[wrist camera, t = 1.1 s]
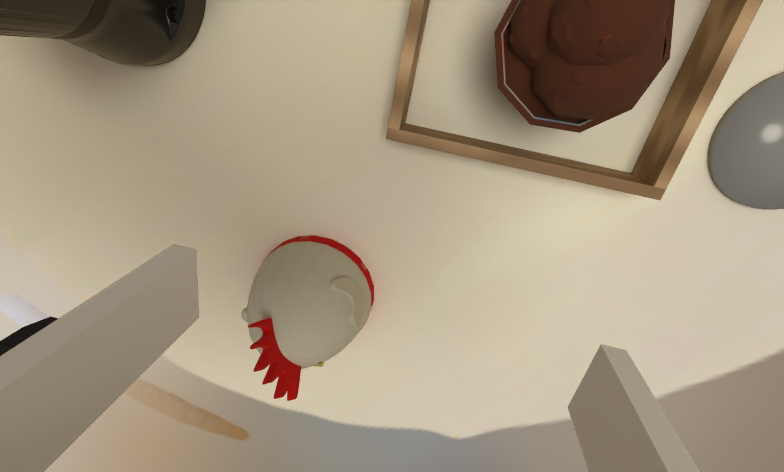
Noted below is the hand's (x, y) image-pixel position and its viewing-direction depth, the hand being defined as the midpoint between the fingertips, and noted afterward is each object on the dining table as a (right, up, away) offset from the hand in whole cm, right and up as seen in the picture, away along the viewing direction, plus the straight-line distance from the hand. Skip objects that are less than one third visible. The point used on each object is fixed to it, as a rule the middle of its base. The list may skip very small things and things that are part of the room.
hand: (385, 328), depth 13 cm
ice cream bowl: (+14, +19, +21) cm, 32 cm away
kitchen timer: (-9, -3, +34) cm, 36 cm away
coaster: (+35, +11, +21) cm, 42 cm away
